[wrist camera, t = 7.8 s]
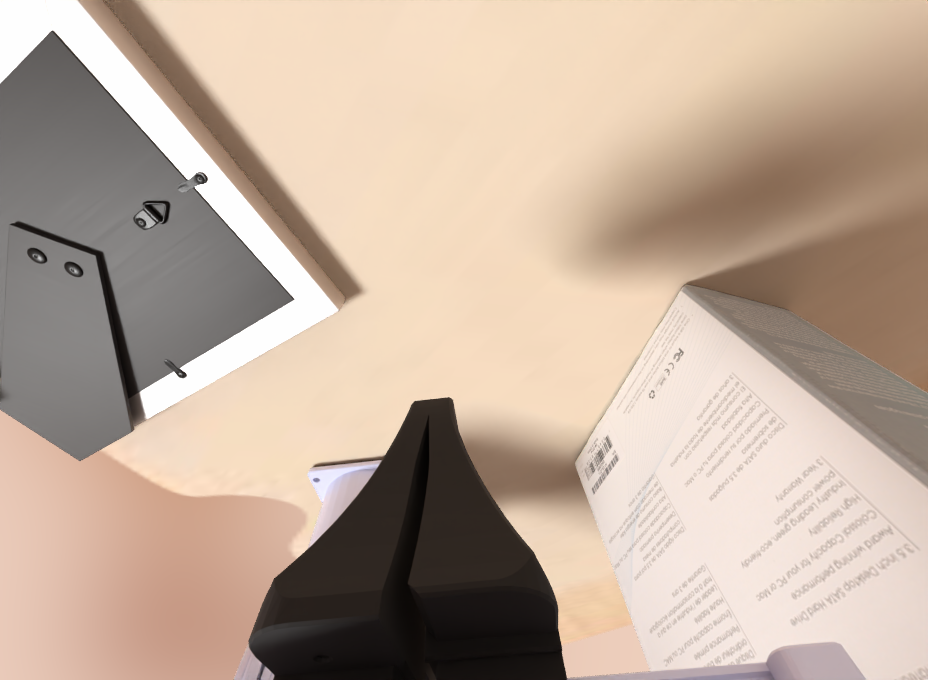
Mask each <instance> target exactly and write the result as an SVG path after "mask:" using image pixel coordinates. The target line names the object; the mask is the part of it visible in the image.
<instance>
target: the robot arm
mask: <svg viewBox="0 0 928 680" xmlns="http://www.w3.org/2000/svg"><path fill="white" fill-rule="evenodd" d="M308 477H309V479H310V481H311V483H312V485H313V487H314V489H315V490H316V492H317V494H318V496H319V498H320V500H321V502H322V506H321V509H320V513H319V516H318V519H317V522H316V525H315V528H314V531H313V534H312V537H311V540H310V544H309V547H308V549H307V550H306V551H305V552H304V553H303V554H302V555H301V556H300V557H298V558H297V559H296V560H295V561H294V562H293V563H292V564H291V565H289V566H288V567H287V568H286V569H285V570H284V571H283V572H282V573H280V574H279V575H278V576H277V577H276V578H274V580H273V582H272V585H271V587H270V589H269V591H268V593H267V595H266V597H265V599H264V602H263V604H262V607H261V609H260V612H259V614H258V617H257V620H256V622H255V625H254V628H253V630H252V633H251V636H250V638H249V643H248V646H247V648H246V650H245V652H244V655H243V657H242V659H241V662H240V664H239V667H238V669H237V672H236V675H235V677H234V680H866V678H865V677H864V675H863V674H862V673H861V671H860V670H859V668H858V667H857V666H856V664H855V663H854V662H853V660H852V659H851V657H850V656H849V655H848V653H847V652H846V650H845V649H844V648H843V646H842V645H841V644H839V643H837V642H823V643H811V644H799V645H789V646H783V647H780V648H777V649H775V650H773V651H772V652H771V653H770V654H769V656H768V658H767V662H761V663H749V664H736V665H724V666H711V667H699V668H686V669H674V670H661V671H649V672H637V673H625V674H613V675H599V676H588V677H576V678H575V677H574V678H567V677H566V672H565V667H564V662H563V657H562V646H561V641H560V636H559V631H558V605H557V601H556V598H555V595H554V592H553V590H552V587H551V585H550V583H549V581H548V579H547V577H546V575H545V573H544V571H543V569H542V567H541V565H540V564H539V562H538V560H537V558H536V556H535V554H534V552H533V551H532V550H531V548H530V547H529V546H528V545H527V544H526V543H525V541H524V540H523V539H522V538H521V537H520V535H519V534H518V533H517V532H516V530H515V529H514V528H513V526H512V525H511V524H510V522H509V521H508V520H507V518H506V517H505V516H504V514H503V513H502V511H501V510H500V508H499V507H498V505H497V504H496V502H495V501H494V500H493V498H492V497H491V495H490V493H489V492H488V490H487V488H486V487H485V485H484V484H483V482H482V480H481V478H480V476H479V475H478V473H477V471H476V469H475V467H474V465H473V463H472V461H471V459H470V457H469V455H468V453H467V451H466V448H465V446H464V444H463V441H462V438H461V436H460V433H459V430H458V425H457V420H456V414H455V409H454V404H453V400H452V399H451V398H449V397H448V398H439V399H430V400H422V401H414V402H413V404H412V405H411V408H410V410H409V412H408V414H407V416H406V418H405V420H404V422H403V424H402V426H401V428H400V430H399V432H398V434H397V436H396V437H395V439H394V441H393V443H392V445H391V446H390V448H389V450H388V451H387V453H386V455H385V456H384V458H383V459H382V460H378V461H368V462H359V463H350V464H341V465H331V466H322V467H313V468H311V469H309V472H308Z"/></svg>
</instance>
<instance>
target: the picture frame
mask: <svg viewBox="0 0 928 680" xmlns="http://www.w3.org/2000/svg"><path fill="white" fill-rule="evenodd" d="M345 300H346V298H345V297H344V295H343V294H342V293H341V292H340V290H339V289H338V288H337V287H336V286H335V284H334V283H333V282H332V281H331V279H330V278H329V277H328V276H327V275H326V273H325V272H324V271H323V270H322V268H321V267H320V266H319V265H318V264H317V262H316V261H315V260H314V259H313V257H312V256H311V255H310V254H309V253H308V251H307V250H306V249H305V248H304V246H303V245H302V244H301V243H300V241H299V240H298V239H297V238H296V237H295V235H294V234H293V233H292V232H291V230H290V229H289V228H288V227H287V226H286V224H285V223H284V222H283V221H282V219H281V218H280V217H279V216H278V215H277V213H276V212H275V211H274V210H273V208H272V207H271V206H270V205H269V204H268V202H267V201H266V200H265V199H264V197H263V196H262V195H261V194H260V193H259V191H258V190H257V189H256V188H255V186H254V185H253V184H252V183H251V181H250V180H249V179H248V178H247V177H246V175H245V174H244V173H243V172H242V170H241V169H240V168H239V167H238V166H237V164H236V163H235V162H234V161H233V159H232V158H231V157H230V156H229V155H228V153H227V152H226V151H225V150H224V148H223V147H222V146H221V145H220V143H219V142H218V141H217V140H216V139H215V137H214V136H213V135H212V134H211V132H210V131H209V130H208V129H207V128H206V126H205V125H204V124H203V123H202V121H201V120H200V119H199V118H198V117H197V115H196V114H195V113H194V112H193V110H192V109H191V108H190V107H189V106H188V104H187V103H186V102H185V101H184V99H183V98H182V97H181V96H180V94H179V93H178V92H177V91H176V90H175V88H174V87H173V86H172V85H171V83H170V82H169V81H168V80H167V79H166V77H165V76H164V75H163V74H162V72H161V71H160V70H159V69H158V68H157V66H156V65H155V64H154V63H153V61H152V60H151V59H150V58H149V57H148V55H147V54H146V53H145V52H144V50H143V49H142V48H141V47H140V45H139V44H138V43H137V42H136V41H135V39H134V38H133V37H132V36H131V34H130V33H129V32H128V31H127V30H126V28H125V27H124V26H123V25H122V23H121V22H120V21H119V20H118V19H117V17H116V16H115V15H114V14H113V12H112V11H111V10H110V9H109V8H108V6H107V5H106V4H105V3H104V1H103V0H0V410H1V411H3V412H5V413H6V414H8V415H9V416H11V417H12V418H14V419H15V420H17V421H18V422H20V423H22V424H23V425H25V426H26V427H28V428H29V429H31V430H32V431H34V432H36V433H37V434H39V435H40V436H42V437H43V438H45V439H46V440H48V441H49V442H51V443H53V444H54V445H56V446H57V447H59V448H60V449H62V450H63V451H65V452H67V453H68V454H70V455H71V456H73V457H74V458H76V459H78V460H79V461H81V460H83V459H85V458H87V457H88V456H90V455H92V454H94V453H95V452H97V451H99V450H101V449H103V448H104V447H106V446H108V445H110V444H111V443H113V442H115V441H117V440H119V439H120V438H122V437H124V436H126V435H127V434H129V433H131V432H132V431H133V430H134V426H136V425H138V424H140V423H142V422H143V421H145V420H147V419H149V418H150V417H152V416H154V415H156V414H157V413H159V412H161V411H163V410H164V409H166V408H168V407H170V406H172V405H173V404H175V403H177V402H179V401H180V400H182V399H184V398H186V397H187V396H189V395H191V394H193V393H195V392H196V391H198V390H200V389H202V388H203V387H205V386H207V385H209V384H210V383H212V382H214V381H216V380H218V379H219V378H221V377H223V376H225V375H226V374H228V373H230V372H232V371H233V370H235V369H237V368H239V367H241V366H242V365H244V364H246V363H248V362H249V361H251V360H253V359H255V358H256V357H258V356H260V355H262V354H263V353H265V352H267V351H269V350H271V349H272V348H274V347H276V346H278V345H279V344H281V343H283V342H285V341H286V340H288V339H290V338H292V337H294V336H295V335H297V334H299V333H301V332H302V331H304V330H306V329H308V328H309V327H311V326H313V325H315V324H317V323H318V322H320V321H322V320H324V319H325V318H327V317H329V316H331V315H332V314H334V313H336V312H338V311H339V310H340V309H341V307H342V305H343V303H344V301H345Z"/></svg>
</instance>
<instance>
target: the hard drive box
mask: <svg viewBox="0 0 928 680" xmlns="http://www.w3.org/2000/svg"><path fill="white" fill-rule="evenodd" d="M575 466H576V469H577V472H578V474H579V477H580V480H581V483H582V485H583V488H584V491H585V494H586V496H587V499H588V502H589V504H590V507H591V510H592V513H593V515H594V518H595V521H596V524H597V526H598V529H599V532H600V535H601V537H602V540H603V543H604V545H605V548H606V551H607V554H608V556H609V559H610V562H611V565H612V567H613V570H614V573H615V576H616V578H617V581H618V584H619V587H620V589H621V592H622V595H623V598H624V600H625V603H626V606H627V609H628V611H629V614H630V617H631V620H632V622H633V625H634V628H635V631H636V633H637V636H638V639H639V642H640V644H641V647H642V650H643V652H644V655H645V658H646V661H647V663H648V666H649V669H650V671H661V670H674V669H686V668H699V667H711V666H724V665H736V664H749V663H761V662H767V658H768V656H769V654H770V653H771V652H772V651H773V650H775V649H777V648H780V647H783V646H789V645H799V644H811V643H823V642H837V643H839V644H841V645H842V646H843V648H844V649H845V650H846V652H847V653H848V655H849V656H850V657H851V659H852V660H853V662H854V663H855V664H856V666H857V667H858V668H859V670H860V671H861V673H862V674H863V675H864V677H865V678H866V680H928V393H927V392H926V391H924V390H922V389H920V388H919V387H917V386H915V385H914V384H912V383H910V382H909V381H907V380H905V379H903V378H902V377H900V376H898V375H897V374H895V373H893V372H891V371H890V370H888V369H886V368H885V367H883V366H881V365H880V364H878V363H876V362H874V361H873V360H871V359H869V358H868V357H866V356H864V355H862V354H861V353H859V352H857V351H856V350H854V349H852V348H851V347H849V346H847V345H846V344H844V343H842V342H841V341H839V340H837V339H836V338H834V337H833V336H831V335H829V334H828V333H826V332H824V331H823V330H821V329H819V328H818V327H816V326H814V325H813V324H811V323H809V322H808V321H806V320H804V319H803V318H801V317H799V316H797V315H796V314H794V313H793V312H791V311H789V310H786V309H782V308H779V307H775V306H771V305H768V304H764V303H760V302H756V301H752V300H749V299H745V298H741V297H737V296H733V295H729V294H725V293H722V292H718V291H714V290H710V289H706V288H701V287H697V286H692V285H688V284H686V285H684V286H683V287H682V289H681V290H680V292H679V294H678V295H677V297H676V298H675V300H674V302H673V303H672V305H671V307H670V308H669V310H668V311H667V313H666V315H665V316H664V318H663V320H662V321H661V323H660V324H659V325H658V327H657V328H656V330H655V332H654V334H653V335H652V337H651V338H650V340H649V341H648V343H647V344H646V346H645V348H644V350H643V352H642V354H641V356H640V357H639V359H638V361H637V362H636V364H635V365H634V367H633V369H632V370H631V372H630V374H629V375H628V377H627V378H626V380H625V382H624V383H623V385H622V386H621V388H620V390H619V391H618V393H617V395H616V396H615V398H614V400H613V401H612V403H611V404H610V406H609V408H608V409H607V411H606V413H605V414H604V416H603V417H602V419H601V420H600V421H599V422H598V424H597V426H596V428H595V430H594V431H593V433H592V434H591V436H590V438H589V440H588V442H587V444H586V445H585V447H584V449H583V450H582V452H581V454H580V455H579V457H578V458H577V460H576V462H575Z"/></svg>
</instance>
